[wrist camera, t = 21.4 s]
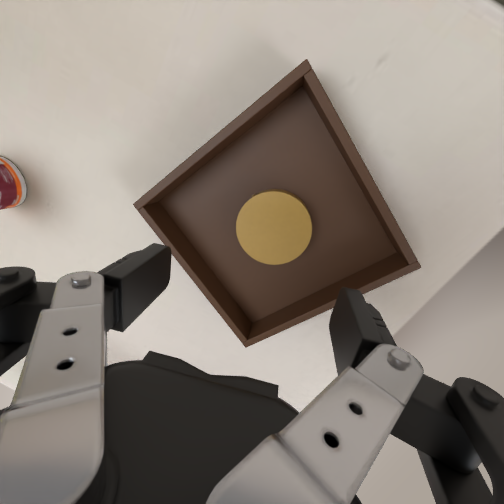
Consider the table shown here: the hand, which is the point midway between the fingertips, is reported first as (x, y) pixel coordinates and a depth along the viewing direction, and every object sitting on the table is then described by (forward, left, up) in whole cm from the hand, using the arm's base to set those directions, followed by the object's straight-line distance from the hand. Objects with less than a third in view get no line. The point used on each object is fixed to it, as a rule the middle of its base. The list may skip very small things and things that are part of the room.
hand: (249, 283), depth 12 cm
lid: (0, 0, -9) cm, 9 cm away
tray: (0, 0, -11) cm, 11 cm away
